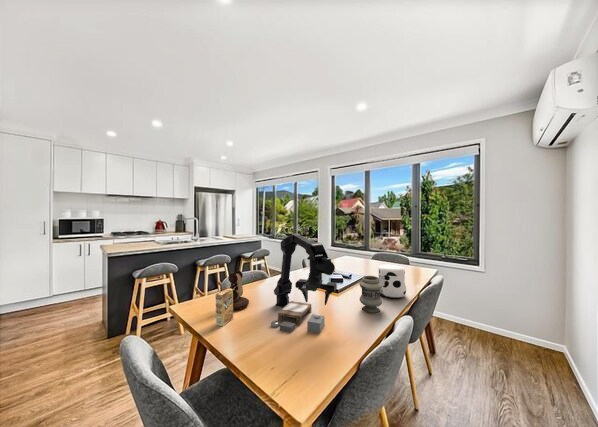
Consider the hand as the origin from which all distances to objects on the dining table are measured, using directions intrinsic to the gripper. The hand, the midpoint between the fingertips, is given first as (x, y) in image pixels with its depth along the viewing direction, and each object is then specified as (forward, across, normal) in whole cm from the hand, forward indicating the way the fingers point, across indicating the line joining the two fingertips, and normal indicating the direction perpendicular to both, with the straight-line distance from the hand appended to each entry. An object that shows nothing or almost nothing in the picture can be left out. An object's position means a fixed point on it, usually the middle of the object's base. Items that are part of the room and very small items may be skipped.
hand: (316, 303), depth 110 cm
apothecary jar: (+12, +22, +29) cm, 38 cm away
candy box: (+12, -44, -11) cm, 47 cm away
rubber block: (+12, -12, -6) cm, 18 cm away
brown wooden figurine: (+12, -51, +7) cm, 53 cm away
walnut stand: (+11, -14, +8) cm, 20 cm away
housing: (+12, 0, 0) cm, 12 cm away
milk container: (+12, +32, +57) cm, 67 cm away
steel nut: (+12, -19, -5) cm, 23 cm away
